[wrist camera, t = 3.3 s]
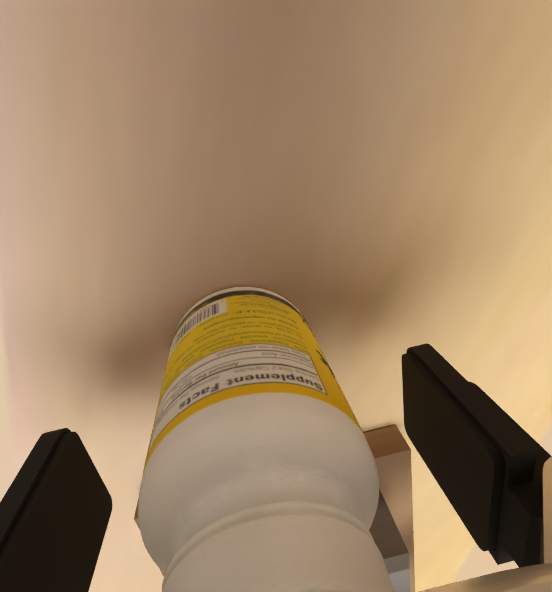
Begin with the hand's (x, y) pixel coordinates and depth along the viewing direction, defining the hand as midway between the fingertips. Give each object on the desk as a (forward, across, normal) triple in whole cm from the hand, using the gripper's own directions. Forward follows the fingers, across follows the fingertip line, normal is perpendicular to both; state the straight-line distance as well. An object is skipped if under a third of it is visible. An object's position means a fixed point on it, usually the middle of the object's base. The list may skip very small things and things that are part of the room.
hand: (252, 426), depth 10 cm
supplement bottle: (+5, 0, 0) cm, 5 cm away
